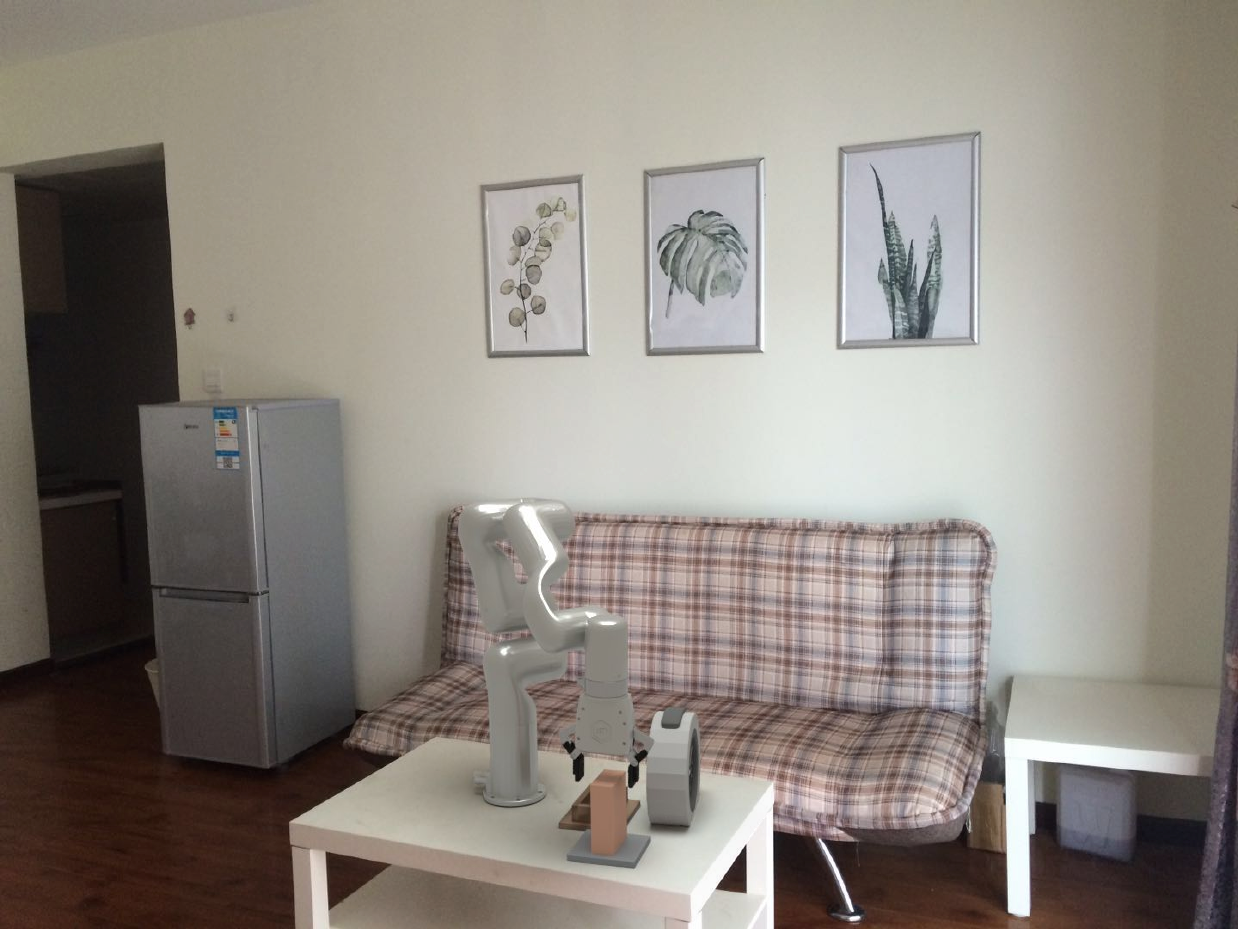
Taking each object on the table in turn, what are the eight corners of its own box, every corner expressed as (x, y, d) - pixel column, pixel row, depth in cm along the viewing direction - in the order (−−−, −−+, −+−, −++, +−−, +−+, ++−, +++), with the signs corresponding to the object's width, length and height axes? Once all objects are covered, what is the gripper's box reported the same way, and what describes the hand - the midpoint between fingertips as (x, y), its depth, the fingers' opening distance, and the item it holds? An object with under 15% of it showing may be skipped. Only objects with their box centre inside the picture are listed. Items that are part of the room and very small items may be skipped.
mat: (567, 860, 170) (567, 855, 170) (586, 834, 181) (586, 829, 181) (634, 868, 167) (634, 862, 167) (650, 841, 178) (650, 836, 178)
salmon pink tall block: (591, 853, 171) (590, 785, 170) (605, 834, 178) (604, 769, 178) (613, 856, 170) (612, 787, 169) (626, 837, 177) (625, 771, 177)
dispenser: (558, 828, 184) (558, 803, 184) (582, 800, 198) (581, 776, 197) (620, 834, 181) (620, 809, 181) (640, 805, 194) (640, 782, 194)
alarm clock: (687, 835, 180) (685, 727, 179) (646, 832, 182) (644, 725, 181) (701, 791, 201) (699, 695, 200) (664, 789, 202) (663, 693, 202)
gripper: (552, 688, 172) (552, 784, 173) (648, 697, 167) (648, 796, 168) (566, 676, 179) (566, 769, 180) (659, 685, 174) (658, 780, 175)
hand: (605, 782), depth 174 cm, fingers open, 9 cm apart
